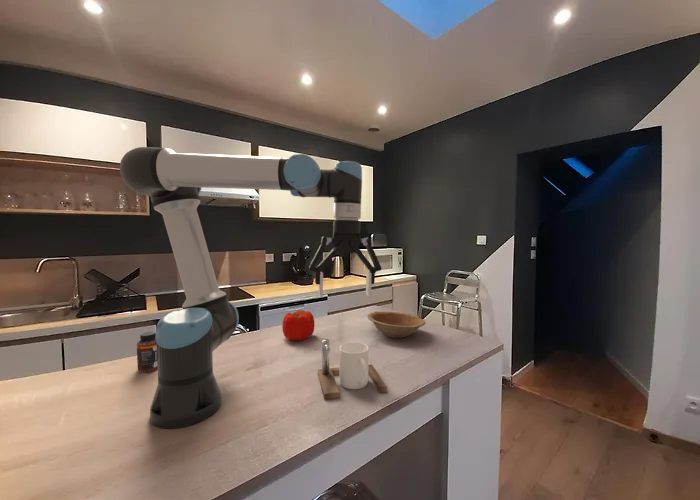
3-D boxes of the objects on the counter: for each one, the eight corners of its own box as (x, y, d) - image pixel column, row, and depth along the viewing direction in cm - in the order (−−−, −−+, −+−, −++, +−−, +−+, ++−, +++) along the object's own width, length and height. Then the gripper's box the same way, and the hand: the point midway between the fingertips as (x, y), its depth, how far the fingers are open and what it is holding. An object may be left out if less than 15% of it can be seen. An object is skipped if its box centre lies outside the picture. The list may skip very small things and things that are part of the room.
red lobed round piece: (298, 330, 133) (298, 306, 132) (321, 336, 125) (321, 311, 124) (274, 339, 122) (273, 313, 121) (297, 346, 114) (297, 319, 113)
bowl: (431, 346, 115) (431, 325, 115) (368, 345, 116) (368, 324, 115) (418, 326, 139) (418, 309, 138) (366, 326, 139) (366, 308, 139)
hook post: (324, 381, 85) (324, 346, 84) (321, 372, 90) (321, 339, 90) (331, 380, 85) (331, 345, 84) (328, 371, 91) (328, 338, 90)
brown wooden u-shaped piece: (324, 399, 78) (324, 393, 78) (317, 374, 92) (317, 369, 92) (386, 392, 82) (386, 386, 82) (371, 369, 96) (371, 364, 96)
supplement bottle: (163, 368, 95) (161, 333, 95) (140, 375, 91) (139, 338, 90) (157, 363, 99) (156, 329, 99) (135, 369, 95) (134, 333, 94)
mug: (380, 392, 82) (380, 355, 81) (352, 399, 78) (352, 360, 78) (360, 373, 93) (360, 340, 92) (335, 379, 89) (335, 344, 89)
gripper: (302, 217, 78) (300, 299, 79) (394, 221, 83) (391, 297, 84) (300, 218, 85) (299, 293, 86) (385, 221, 90) (383, 292, 92)
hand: (344, 295), depth 85 cm, fingers open, 13 cm apart
